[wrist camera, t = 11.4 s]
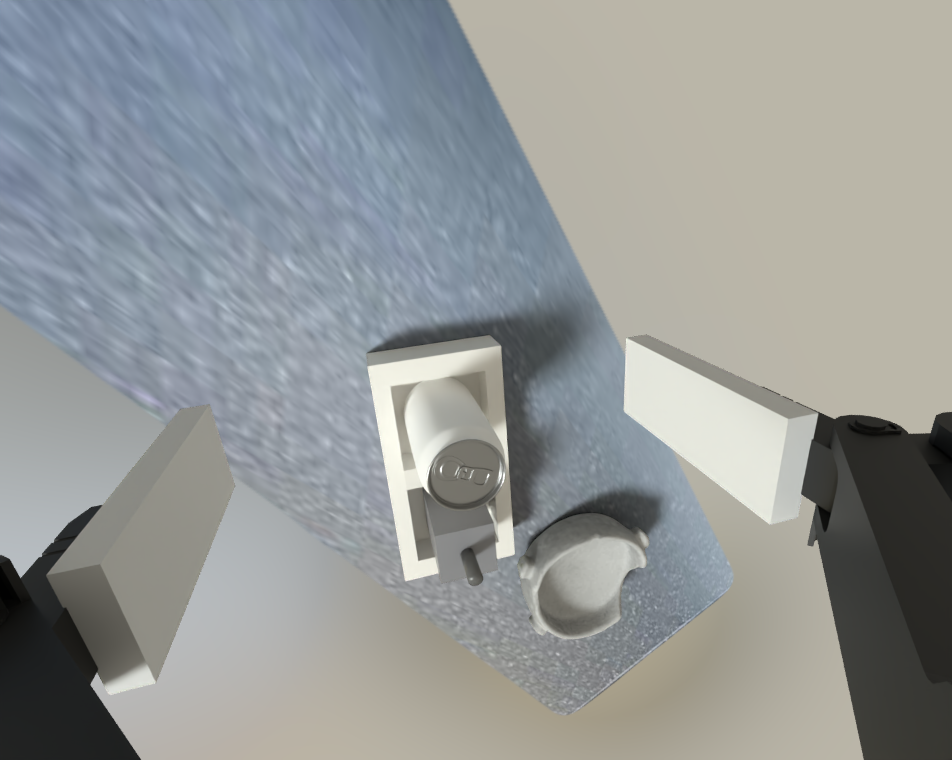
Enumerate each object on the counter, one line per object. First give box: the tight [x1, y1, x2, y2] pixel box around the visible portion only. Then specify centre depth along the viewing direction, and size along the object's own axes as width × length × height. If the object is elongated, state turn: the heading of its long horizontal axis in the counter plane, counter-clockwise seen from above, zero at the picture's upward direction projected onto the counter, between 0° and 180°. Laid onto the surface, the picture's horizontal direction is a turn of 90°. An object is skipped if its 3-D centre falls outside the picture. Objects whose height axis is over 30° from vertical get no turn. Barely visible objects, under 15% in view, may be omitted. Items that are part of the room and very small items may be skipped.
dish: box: [517, 513, 649, 639], centre depth 53 cm, size 14×14×5 cm
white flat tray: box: [366, 335, 515, 581], centre depth 45 cm, size 22×11×4 cm, turn 5°
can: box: [404, 377, 506, 511], centre depth 39 cm, size 6×6×12 cm
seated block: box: [422, 487, 498, 586], centre depth 43 cm, size 5×5×11 cm
